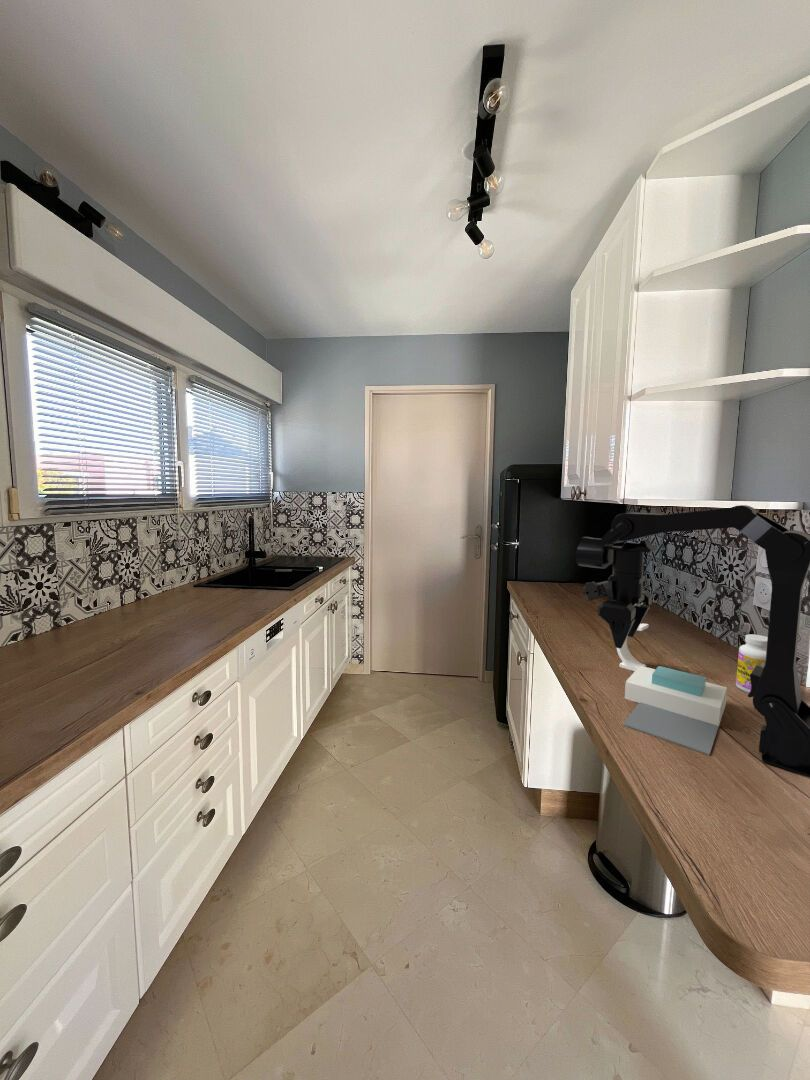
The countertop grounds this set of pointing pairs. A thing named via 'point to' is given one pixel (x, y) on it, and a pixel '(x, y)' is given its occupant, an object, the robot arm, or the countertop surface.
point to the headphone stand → (626, 657)
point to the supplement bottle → (750, 659)
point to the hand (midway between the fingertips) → (624, 642)
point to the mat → (673, 727)
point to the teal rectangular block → (679, 680)
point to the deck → (677, 697)
